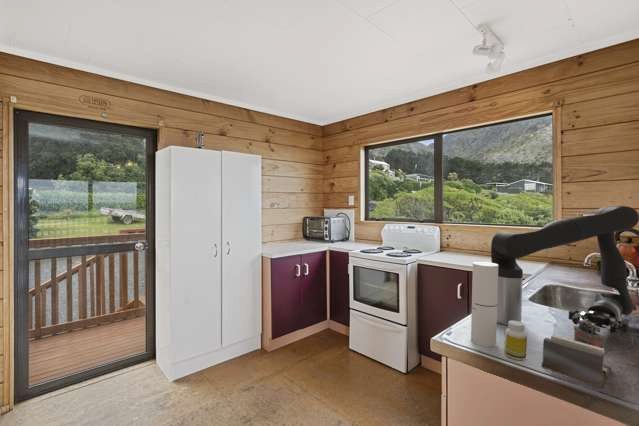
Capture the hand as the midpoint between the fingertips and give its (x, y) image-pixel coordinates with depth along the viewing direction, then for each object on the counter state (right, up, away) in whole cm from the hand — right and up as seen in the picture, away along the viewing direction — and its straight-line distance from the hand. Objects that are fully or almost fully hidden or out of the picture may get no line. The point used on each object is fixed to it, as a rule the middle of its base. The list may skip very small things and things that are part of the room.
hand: (592, 325), depth 98 cm
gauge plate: (-15, -6, -12) cm, 20 cm away
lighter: (-6, -7, -5) cm, 11 cm away
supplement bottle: (-27, -7, -5) cm, 28 cm away
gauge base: (-15, -7, -12) cm, 20 cm away
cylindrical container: (-31, -7, +4) cm, 32 cm away
